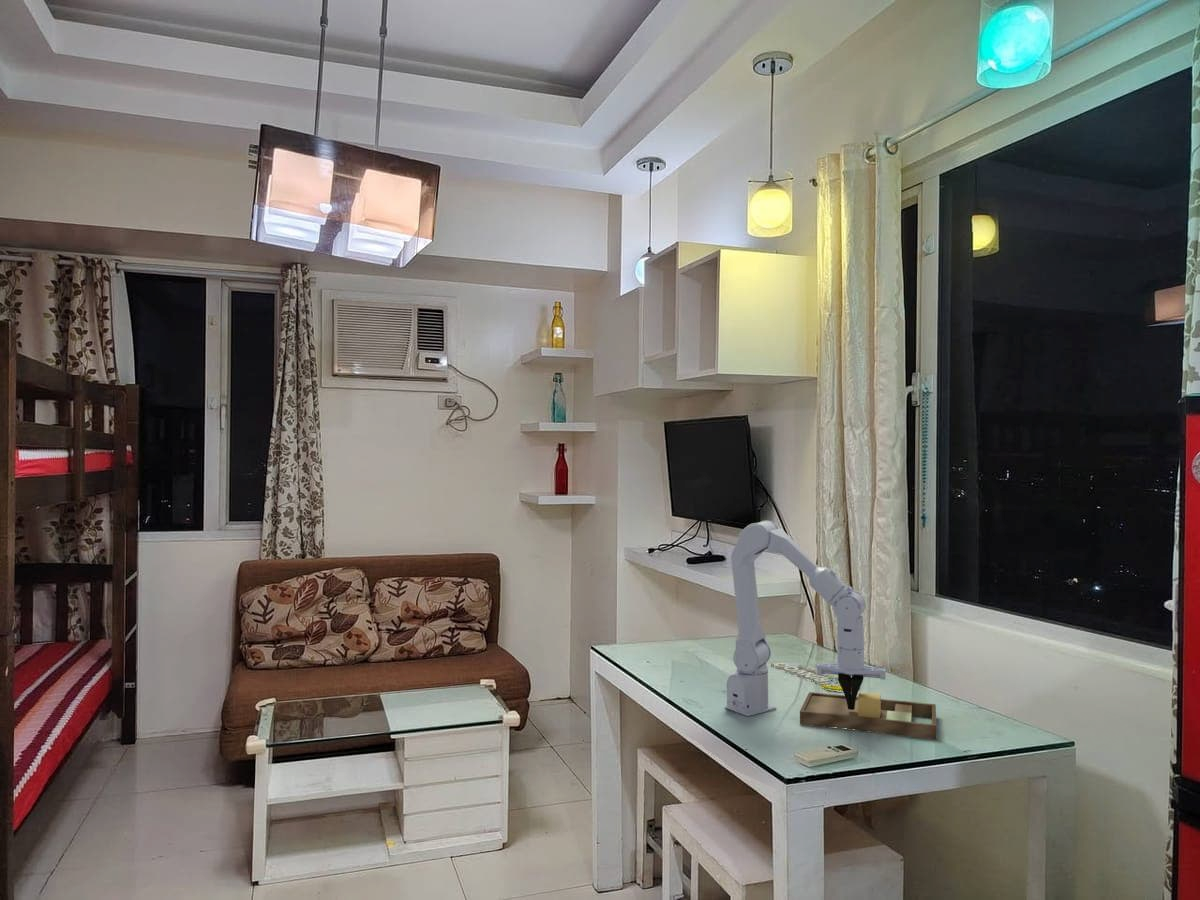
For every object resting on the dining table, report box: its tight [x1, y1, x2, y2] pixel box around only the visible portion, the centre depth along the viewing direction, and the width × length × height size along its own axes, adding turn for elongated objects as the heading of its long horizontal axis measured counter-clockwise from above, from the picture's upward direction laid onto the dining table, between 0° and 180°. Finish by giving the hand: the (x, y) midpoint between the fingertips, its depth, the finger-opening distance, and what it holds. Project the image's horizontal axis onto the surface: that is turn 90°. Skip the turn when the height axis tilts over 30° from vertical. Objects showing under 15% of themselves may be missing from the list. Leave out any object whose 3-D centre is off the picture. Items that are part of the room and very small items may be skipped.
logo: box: [770, 662, 843, 691], centre depth 219 cm, size 29×1×10 cm
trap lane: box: [799, 691, 938, 740], centre depth 184 cm, size 28×16×3 cm, turn 68°
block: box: [857, 691, 882, 718], centre depth 181 cm, size 4×4×4 cm
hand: (851, 708), depth 182 cm, fingers closed
